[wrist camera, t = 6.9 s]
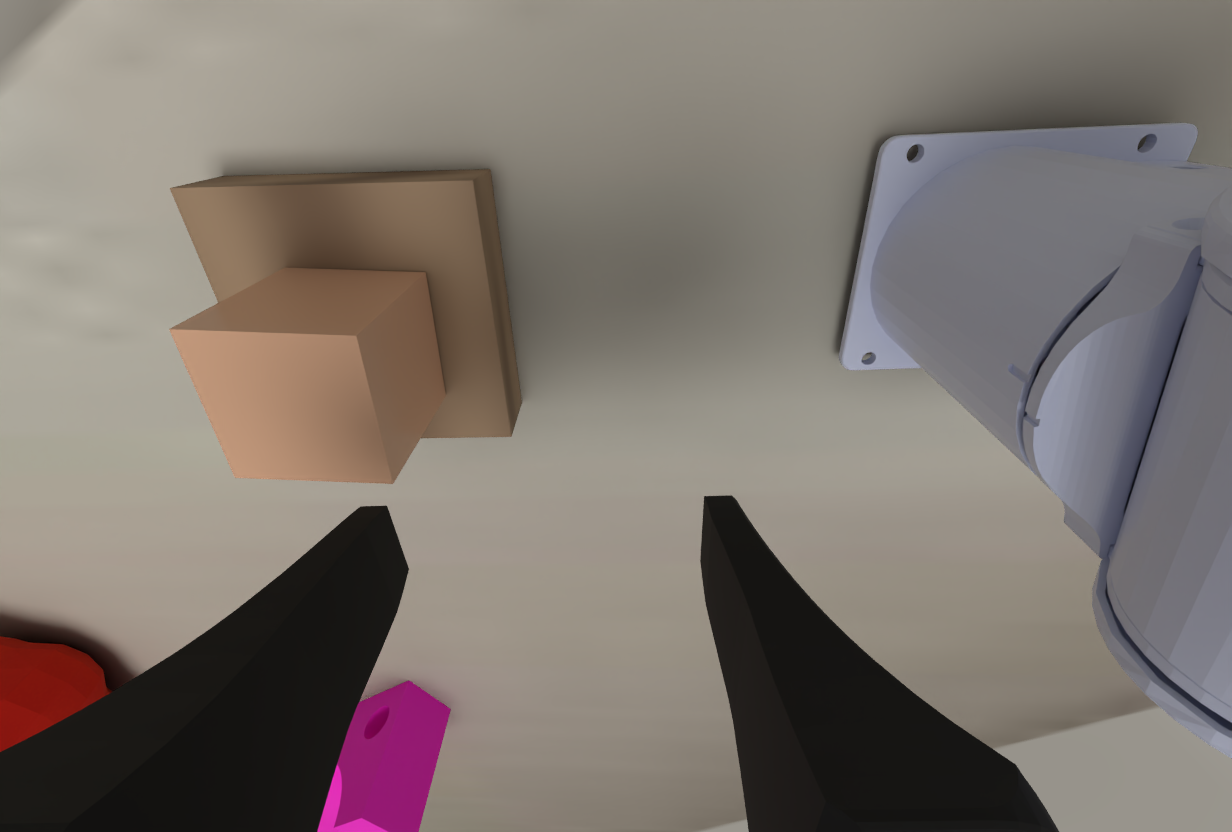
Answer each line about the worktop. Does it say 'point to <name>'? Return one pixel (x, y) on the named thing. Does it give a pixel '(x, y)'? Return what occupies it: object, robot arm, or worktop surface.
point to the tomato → (43, 686)
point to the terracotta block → (318, 373)
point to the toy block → (386, 763)
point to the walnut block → (380, 262)
